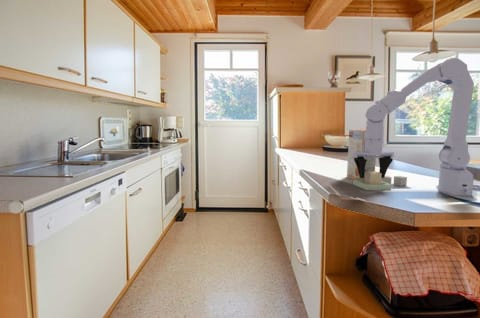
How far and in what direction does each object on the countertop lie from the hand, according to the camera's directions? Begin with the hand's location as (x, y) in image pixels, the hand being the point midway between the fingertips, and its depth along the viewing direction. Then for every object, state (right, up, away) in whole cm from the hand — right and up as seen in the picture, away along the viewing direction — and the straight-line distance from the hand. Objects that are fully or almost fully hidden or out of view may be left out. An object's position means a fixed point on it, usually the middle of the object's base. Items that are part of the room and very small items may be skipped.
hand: (371, 177), depth 112 cm
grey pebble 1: (+7, -3, +4) cm, 8 cm away
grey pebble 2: (+12, -3, +4) cm, 13 cm away
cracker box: (+1, -3, +13) cm, 13 cm away
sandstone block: (0, -4, 0) cm, 4 cm away
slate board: (+9, -4, +1) cm, 10 cm away
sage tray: (0, -4, 0) cm, 4 cm away
